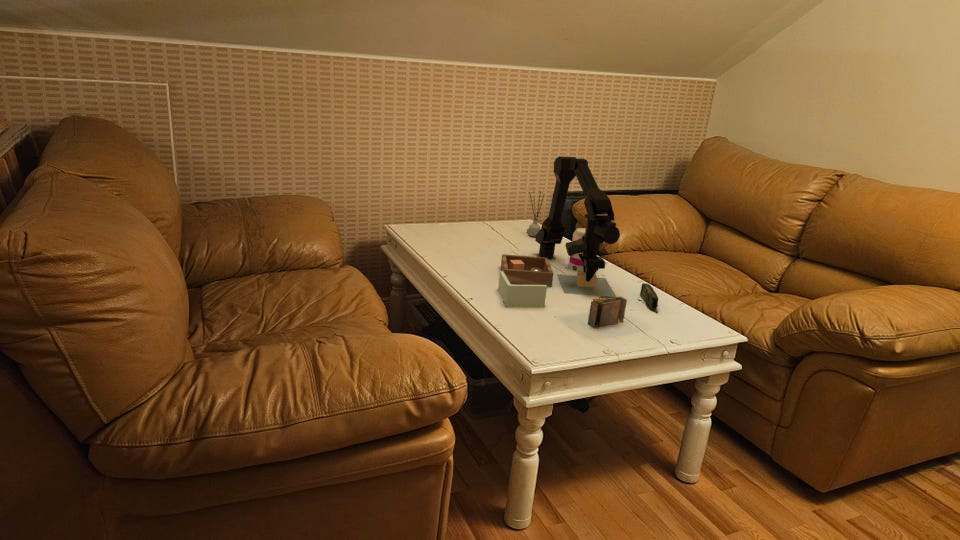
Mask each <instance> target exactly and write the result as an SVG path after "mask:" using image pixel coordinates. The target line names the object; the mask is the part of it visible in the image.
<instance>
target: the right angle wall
mask: <svg viewBox="0 0 960 540" xmlns="http://www.w3.org/2000/svg"><path fill="white" fill-rule="evenodd" d="M498 277H499V278H498V285H497V286H498V288H497V289H498V292H499V294H500V296H501V298H502V300H503V301H502V302H503V305H504V306H505V308H545V304H546V297H547V296H546V295H547V290H548V287H547V285H516V284H510V282H509V280H508V279H507V277H506V275H505V274H504V272H503V271H501V270H500V271H499V276H498Z"/></svg>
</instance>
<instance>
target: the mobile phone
mask: <svg viewBox="0 0 960 540" xmlns="http://www.w3.org/2000/svg"><path fill="white" fill-rule="evenodd" d="M639 292H640V293H639V295H640V296H639V297H641V299H642V300H643V301H644V304H645V307H647V308H648V309H650V310H651V311H652V310H653V311H654V312H655V313H656V314H658V313H659V311H658V309H657V308H658V305H659V304H658V302H659V297H658V294H657V292H656V291H655V290H654V288H653V287H652V286H651V285H650V284H649V283H642V284H641V287H640V291H639Z"/></svg>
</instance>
